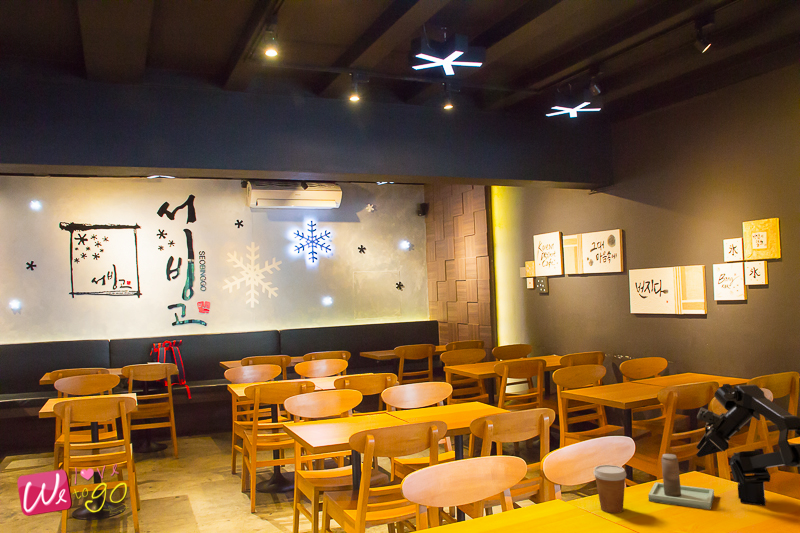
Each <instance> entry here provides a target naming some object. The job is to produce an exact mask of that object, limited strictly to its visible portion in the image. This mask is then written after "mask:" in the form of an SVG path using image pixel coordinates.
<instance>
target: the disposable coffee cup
mask: <svg viewBox="0 0 800 533" xmlns="http://www.w3.org/2000/svg"><path fill="white" fill-rule="evenodd" d="M592 474H593V475H594V477H595V478H594V479H595V483H596V490H597V493H598V499H599V500H598V501H599V504H600V505H599V506H600V510H601V511H603V512H605V513H610V514H618V513H619V514H620V513H622V512H623V511H624V500H625V487H626V486H625V485H626V484H625V483H626V478H627V472H626V470H625V468H623V466H619V465H614V464H600V465H597V466H595V467H594V470H593V472H592Z"/></svg>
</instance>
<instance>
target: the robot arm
mask: <svg viewBox="0 0 800 533" xmlns="http://www.w3.org/2000/svg"><path fill="white" fill-rule="evenodd" d="M714 398H715V400H717V402H719V404H720V405H721V406H722V407H723V408H724V409H725V410H726V412H722V413H721V414H717V413H715V412H714V411H711V410H709V409H707V408H705V407H700V409H699V410H698V413H697V415H696V419H697V420H700V421H703V422H705V426H704V429H705V432H704V434H703V436H702V437H701V439H700V440H699V442H698V443H697V445H696V446H695V447H696V449H697V450H698V451H697V453H696V454H695V455H696V457H698V458H701V457H704V456H705V457H706V456H709V455H712V454H717V453H722V452H725V451H727V450H728V449H729V448H730V446H729V441H730V440H731V437H732V436H733V435H734V434H736V432H738V433H740V431H741V428H743V426H745V425H746V424H747V423H748V422H749V421H750V420H751V419H752V418H754V419H755V420H757V421H760V420H761V417H760V416H763V417H764V418H765V419H766V420H768V421H770V422H771V423H772V424H774V425H775V426H777V428H778V429H777V430H778V431H779V433H778V434H779V435H778V446H779V451H772V452H768V453H762V454H761V451H760V450H745V451H743V450H742V451H739V452H733V453H732V454H733V455H731V457H730V460H729V466H730V470H731V471H730V472H731V474H732V478H733V480H735V482H736V483H737V495H738V500H739V502H740V503H742V504H749V505H758V506H766V503H767V502H766V499H767V498H766V497H765V496H766V495H765V494H766V493H765V483H769V482H770V481H771V475H770V472H769V471H768V469H769V468H775V467H780V466H786V467H793V468H795V467H800V443H790V442H789V441H788V439H789V438H788V437H789V433H790V432H791V431H792V432H795V433H796V434H797V436H799V437H800V417H799V416H798V415H793V414H792V413H791V412H789V411H787V410H786V409H784V408H782V407H781V406H780V405H778V404H777V403H775V402H773V401H772V400H770V398H768V397H766V395H765V391H763V390H762V389H761V388H760V387H759V386H758V385H757V384H741V385H739V384H738V385H734V386H732V385H731V384H730V383H722V386H720V387H719V388H717V390H716V391H714Z"/></svg>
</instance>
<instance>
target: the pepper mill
mask: <svg viewBox="0 0 800 533" xmlns="http://www.w3.org/2000/svg"><path fill="white" fill-rule="evenodd" d="M660 459H661V470H662V472H661V473H662V483H663V484H664V494H665V495H666V496H671V497H679V496H681V487H680V485H681V481H680V480H681V479H680V468H679V459H678V457H677V455H676V454H674V453H663V454H662V456H661V458H660Z"/></svg>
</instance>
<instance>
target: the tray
mask: <svg viewBox="0 0 800 533" xmlns="http://www.w3.org/2000/svg"><path fill="white" fill-rule="evenodd" d="M680 487H681V496H679V497H671V496H666V495H665V494H664V484H663V482H654V484H653V486H652V487H651V489H650V491H649V493H648V494H647V496H648V502H653V503H658V504H660V503H661V504H665V505H673V506H682V507H689V508H696V509H703V510H709V511H710V510H711V509H712V505H713V502H714V498H715V491H714V490H715V489H712V488H705V487H697V486H690V485H689V486H687V485H681V484H680Z"/></svg>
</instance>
